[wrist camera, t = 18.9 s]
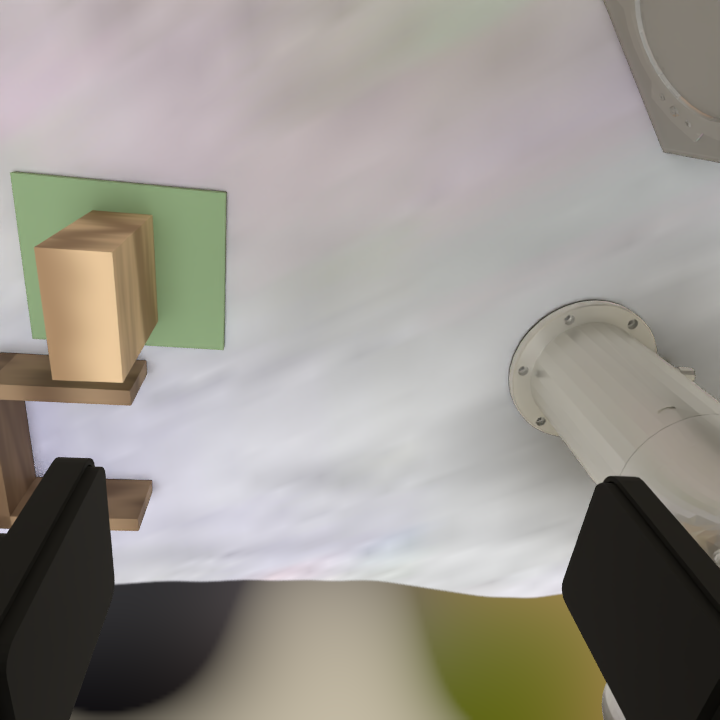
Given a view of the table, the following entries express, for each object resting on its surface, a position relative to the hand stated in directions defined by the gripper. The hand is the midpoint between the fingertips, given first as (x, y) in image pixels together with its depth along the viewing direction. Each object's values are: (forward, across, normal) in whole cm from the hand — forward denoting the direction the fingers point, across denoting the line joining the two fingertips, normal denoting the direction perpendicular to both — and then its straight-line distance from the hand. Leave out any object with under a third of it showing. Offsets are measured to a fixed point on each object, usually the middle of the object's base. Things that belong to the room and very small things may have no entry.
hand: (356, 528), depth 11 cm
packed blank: (+34, +13, +6) cm, 37 cm away
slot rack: (+34, +17, +20) cm, 43 cm away
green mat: (+34, +13, +6) cm, 37 cm away
